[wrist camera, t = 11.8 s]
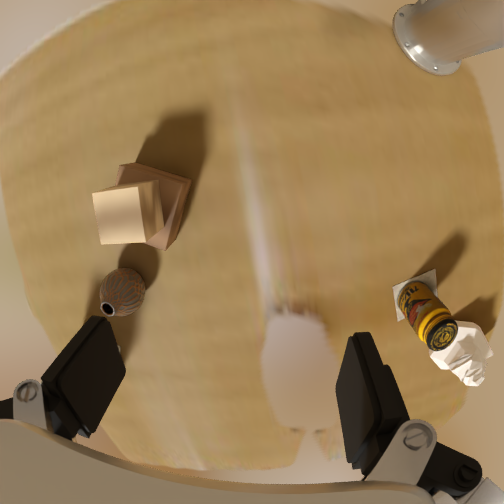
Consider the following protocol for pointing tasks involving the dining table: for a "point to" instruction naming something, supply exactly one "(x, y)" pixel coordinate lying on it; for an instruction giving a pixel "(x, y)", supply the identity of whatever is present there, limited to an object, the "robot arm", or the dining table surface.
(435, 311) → the condiment
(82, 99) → the dining table surface
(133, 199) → the oak cube
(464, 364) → the white faceted lump
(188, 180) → the walnut block
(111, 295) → the vase
